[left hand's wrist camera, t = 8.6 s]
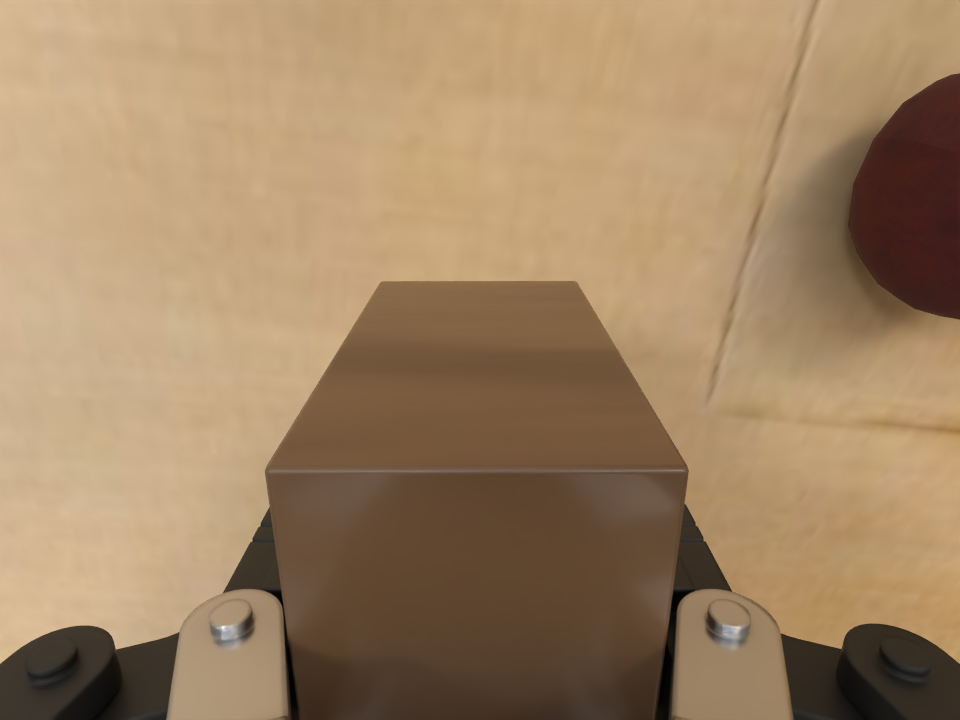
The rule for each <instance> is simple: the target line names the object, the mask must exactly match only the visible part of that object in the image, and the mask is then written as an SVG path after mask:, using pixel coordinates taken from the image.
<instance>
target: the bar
mask: <svg viewBox="0 0 960 720" xmlns="http://www.w3.org/2000/svg"><path fill="white" fill-rule="evenodd" d="M688 472H689V470H688V467H687V465H686V463H685V462H684V460H683V458H682V457H681V455H680V453H679V452H678V450H677V448H676V447H675V445H674V443H673V442H672V440H671V438H670V437H669V435H668V433H667V432H666V430H665V428H664V427H663V425H662V423H661V422H660V420H659V418H658V417H657V415H656V413H655V412H654V410H653V408H652V407H651V405H650V403H649V402H648V400H647V398H646V397H645V395H644V393H643V392H642V390H641V388H640V387H639V385H638V383H637V382H636V380H635V378H634V377H633V375H632V373H631V372H630V370H629V368H628V367H627V365H626V363H625V362H624V360H623V358H622V357H621V355H620V353H619V352H618V350H617V348H616V347H615V345H614V343H613V342H612V340H611V338H610V337H609V335H608V333H607V332H606V330H605V328H604V327H603V325H602V323H601V322H600V320H599V318H598V317H597V315H596V313H595V312H594V310H593V308H592V307H591V305H590V303H589V302H588V300H587V298H586V297H585V295H584V293H583V292H582V290H581V288H580V287H579V285H578V283H577V282H575V281H442V282H381V283H380V284H379V286H378V287H377V289H376V290H375V292H374V294H373V295H372V297H371V299H370V300H369V302H368V303H367V305H366V307H365V308H364V310H363V311H362V313H361V315H360V316H359V318H358V320H357V321H356V323H355V324H354V326H353V328H352V329H351V331H350V332H349V334H348V336H347V337H346V339H345V341H344V342H343V344H342V345H341V347H340V349H339V350H338V352H337V353H336V355H335V357H334V358H333V360H332V362H331V363H330V365H329V366H328V368H327V370H326V371H325V373H324V374H323V376H322V378H321V379H320V381H319V383H318V384H317V386H316V387H315V389H314V391H313V392H312V394H311V395H310V397H309V399H308V400H307V402H306V404H305V405H304V407H303V408H302V410H301V412H300V413H299V415H298V416H297V418H296V420H295V421H294V423H293V425H292V426H291V428H290V429H289V431H288V433H287V434H286V436H285V437H284V439H283V441H282V442H281V444H280V446H279V447H278V449H277V450H276V452H275V454H274V455H273V457H272V458H271V460H270V462H269V463H268V465H267V467H266V470H265V475H266V482H267V490H268V497H269V504H270V511H271V519H272V526H273V533H274V540H275V548H276V555H277V562H278V569H279V577H280V584H281V591H282V598H283V606H284V613H285V620H286V627H287V635H288V642H289V649H290V656H291V664H292V671H293V678H294V685H295V693H296V700H297V707H298V714H299V720H656V718H657V710H658V702H659V694H660V687H661V679H662V671H663V664H664V656H665V648H666V641H667V633H668V625H669V618H670V610H671V602H672V595H673V587H674V579H675V572H676V564H677V556H678V549H679V541H680V533H681V525H682V518H683V510H684V502H685V495H686V487H687V479H688Z"/></svg>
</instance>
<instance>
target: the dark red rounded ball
mask: <svg viewBox="0 0 960 720" xmlns="http://www.w3.org/2000/svg"><path fill="white" fill-rule="evenodd" d="M848 226H849V229H850V232H851V235H852V238H853V241H854V244H855V247H856V250H857V253H858V255H859V256H860V258H861V260H862V261H863V263H864V264H865V266H866V267H867V268H868V270H869V271H870V273H871V274H872V276H873V277H874V278H875V280H876V281H877V283H878V284H879V285H881V286H882V287H884V288H885V289H886V290H888V291H889V292H890V293H892V294H893V295H894V296H896V297H897V298H899V299H900V300H902V301H903V302H905V303H906V304H908V305H910V306H911V307H913V308H914V309H918V310H921V311H925V312H928V313H932V314H935V315H939V316H943V317H949V318H955V319H960V74H954V75H950V76H948V77H945V78H943V79H940V80H938V81H936V82H934V83H933V84H931V85H930V86H928V87H927V88H925V89H924V90H922V91H921V92H919V93H918V94H916V95H915V96H913V97H912V98H910V99H908V100H907V101H905V102H904V103H903V104H902V105H901V106H900V107H899V109H898V110H897V111H896V112H895V114H894V115H893V116H892V117H891V119H890V120H889V121H888V122H887V123H886V125H885V126H884V127H883V128H882V130H881V131H880V132H879V133H878V135H877V136H876V137H875V138H874V140H873V142H872V144H871V147H870V149H869V151H868V153H867V155H866V158H865V160H864V162H863V164H862V166H861V169H860V171H859V173H858V175H857V177H856V180H855V182H854V186H853V193H852V201H851V209H850V216H849V224H848Z"/></svg>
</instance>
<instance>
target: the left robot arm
mask: <svg viewBox="0 0 960 720" xmlns="http://www.w3.org/2000/svg"><path fill="white" fill-rule="evenodd" d="M0 720H299V714H298V707H297V700H296V693H295V685H294V678H293V671H292V664H291V656H290V649H289V642H288V635H287V627H286V620H285V613H284V606H283V598H282V591H281V584H280V577H279V569H278V562H277V555H276V548H275V540H274V533H273V526H272V519H271V511H270V507H269V509H268V511H267V513H266V515H265V517H264V518H263V520H262V522H261V527H259V528H258V529H257V531H256V533H255V535H254V537H253V541H252V542H250V544H249V546H248V548H247V550H246V552H245V553H244V555H243V557H242V559H241V561H240V563H239V565H238V566H237V568H236V570H235V572H234V574H233V576H232V577H231V579H230V581H229V583H228V585H227V587H226V588H225V590H224V592H223V594H220V595H218V596H215V597H213V598H211V599H209V600H207V601H206V602H204V603H203V604H201V605H200V606H198V607H197V608H196V609H195V610H194V611H193V612H192V613H191V614H190V615H189V616H188V617H187V618H186V620H185V621H184V623H183V625H182V627H181V629H180V632H179V633H177V634H174V635H171V636H169V637H166V638H162V639H159V640H155V641H151V642H147V643H142V644H138V645H134V646H130V647H126V648H121V649H117V650H116V649H115V645H114V641H113V639H112V636H111V635H110V634H109V633H108V632H107V631H105V630H104V629H101V628H99V627H94V626H74V627H68V628H64V629H60V630H57V631H53V632H51V633H48V634H46V635H43V636H41V637H39V638H37V639H35V640H33V641H31V642H29V643H28V644H26V645H25V646H23V647H21V648H20V649H19V650H17V651H16V652H15V653H13V654H12V655H11V656H10V657H8V658H7V659H6V660H5V661H3V662H2V663H1V664H0ZM656 720H960V664H959V663H958V662H957V661H955V660H954V659H953V658H952V657H950V656H949V655H948V654H947V653H946V652H944V651H943V650H942V649H940V648H939V647H937V646H936V645H935V644H933V643H931V642H930V641H928V640H926V639H925V638H923V637H921V636H919V635H917V634H914V633H912V632H909V631H907V630H904V629H901V628H898V627H894V626H889V625H884V624H864V625H859V626H857V627H854V628H853V629H851V630H849V632H848V633H847V634H846V636H845V639H844V642H843V646H842V649H838V648H834V647H830V646H825V645H821V644H817V643H813V642H809V641H804V640H800V639H796V638H793V637H789V636H786V635H784V634H781V633H780V629H779V627H778V625H777V623H776V621H775V620H774V618H773V617H772V616H771V615H770V614H769V613H768V612H767V611H766V610H765V609H764V608H763V607H762V606H760V605H759V604H757V603H756V602H754V601H753V600H751V599H749V598H747V597H745V596H742V595H740V594H737V593H734V592H732V590H731V588H730V587H729V585H728V583H727V581H726V579H725V577H724V575H723V573H722V572H721V570H720V568H719V566H718V564H717V562H716V560H715V558H714V557H713V555H712V553H711V551H710V549H709V547H708V545H707V543H706V542H704V540H703V536H702V534H701V532H700V530H699V528H698V527H697V526H696V525H695V521H694V519H693V517H692V515H691V513H690V512H689V510H688V508H687V506H686V504H684V510H683V518H682V525H681V533H680V541H679V549H678V556H677V564H676V572H675V579H674V587H673V595H672V602H671V610H670V618H669V625H668V633H667V641H666V648H665V656H664V664H663V671H662V679H661V687H660V694H659V702H658V710H657V718H656Z"/></svg>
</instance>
